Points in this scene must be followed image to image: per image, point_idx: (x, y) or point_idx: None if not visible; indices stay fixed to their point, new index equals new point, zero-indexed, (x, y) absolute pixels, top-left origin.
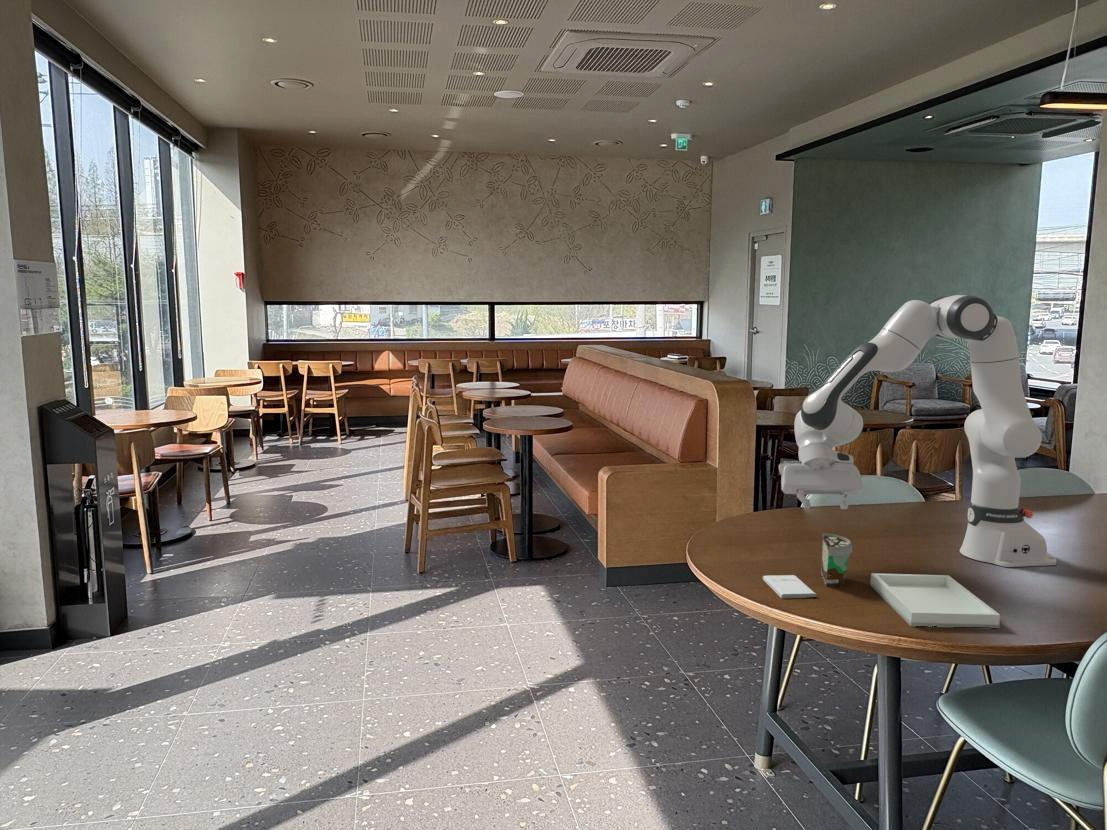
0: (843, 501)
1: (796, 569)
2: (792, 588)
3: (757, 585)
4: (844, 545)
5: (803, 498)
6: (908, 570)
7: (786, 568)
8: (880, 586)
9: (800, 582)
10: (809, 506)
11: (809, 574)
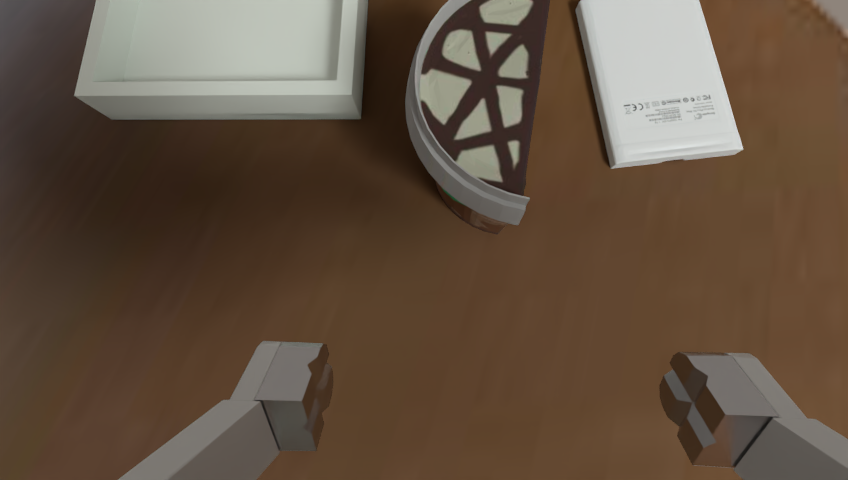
0: (287, 381)
1: (586, 271)
2: (652, 32)
3: (759, 94)
4: (451, 54)
5: (820, 427)
6: (144, 284)
7: (625, 280)
8: (360, 19)
9: (613, 88)
10: (677, 363)
11: (546, 216)
